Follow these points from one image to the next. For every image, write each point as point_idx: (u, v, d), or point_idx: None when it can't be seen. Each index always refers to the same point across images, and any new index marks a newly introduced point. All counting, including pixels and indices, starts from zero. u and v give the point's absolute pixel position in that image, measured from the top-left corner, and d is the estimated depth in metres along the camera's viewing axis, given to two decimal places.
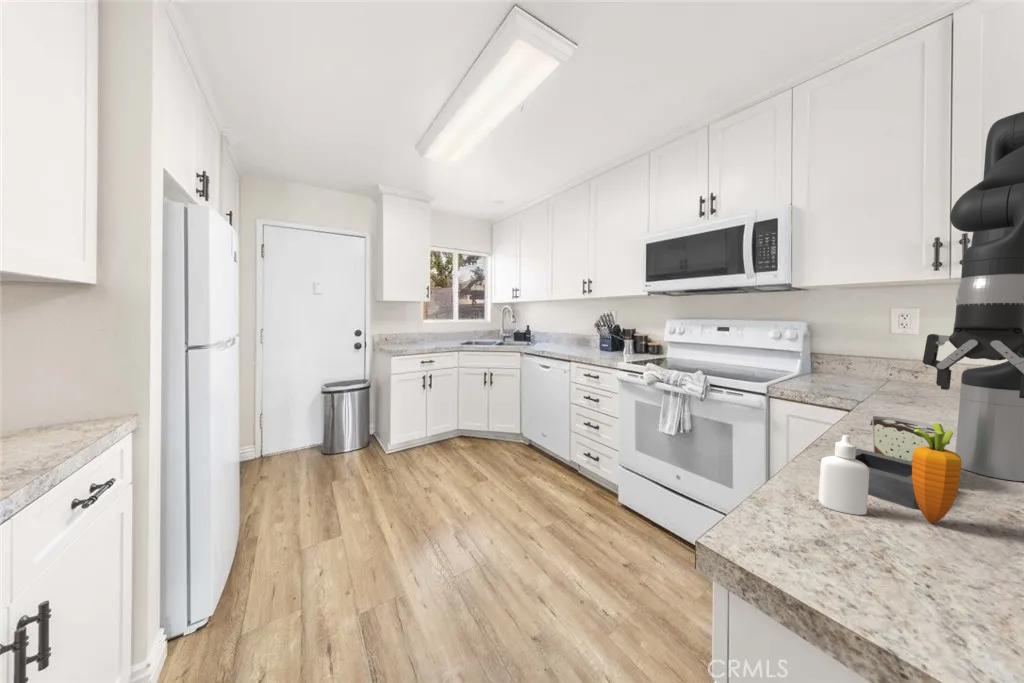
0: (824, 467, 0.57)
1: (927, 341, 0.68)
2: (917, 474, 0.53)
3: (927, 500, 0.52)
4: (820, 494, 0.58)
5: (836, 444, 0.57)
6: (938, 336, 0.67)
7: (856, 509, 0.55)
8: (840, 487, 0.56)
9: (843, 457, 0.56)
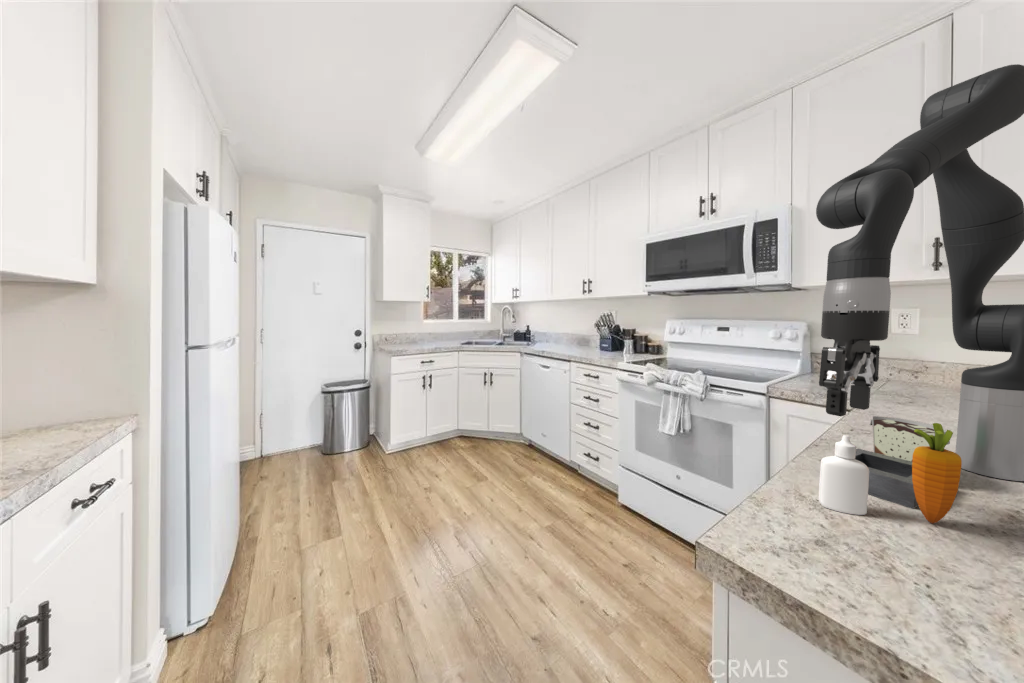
0: (824, 467, 0.57)
1: (842, 358, 0.51)
2: (917, 474, 0.53)
3: (927, 500, 0.52)
4: (820, 494, 0.58)
5: (836, 444, 0.57)
6: None
7: (856, 509, 0.55)
8: (840, 487, 0.56)
9: (843, 457, 0.56)
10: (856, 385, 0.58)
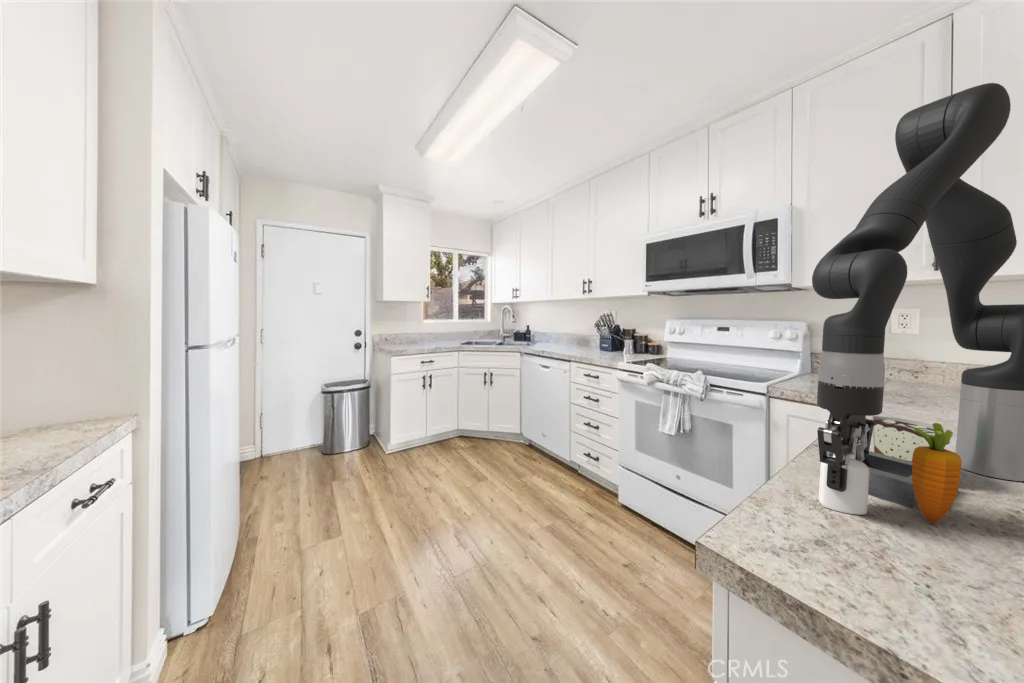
0: (824, 467, 0.57)
1: (838, 442, 0.52)
2: (917, 474, 0.53)
3: (927, 500, 0.52)
4: (820, 494, 0.58)
5: None
6: (835, 431, 0.53)
7: (856, 509, 0.55)
8: None
9: None
10: None
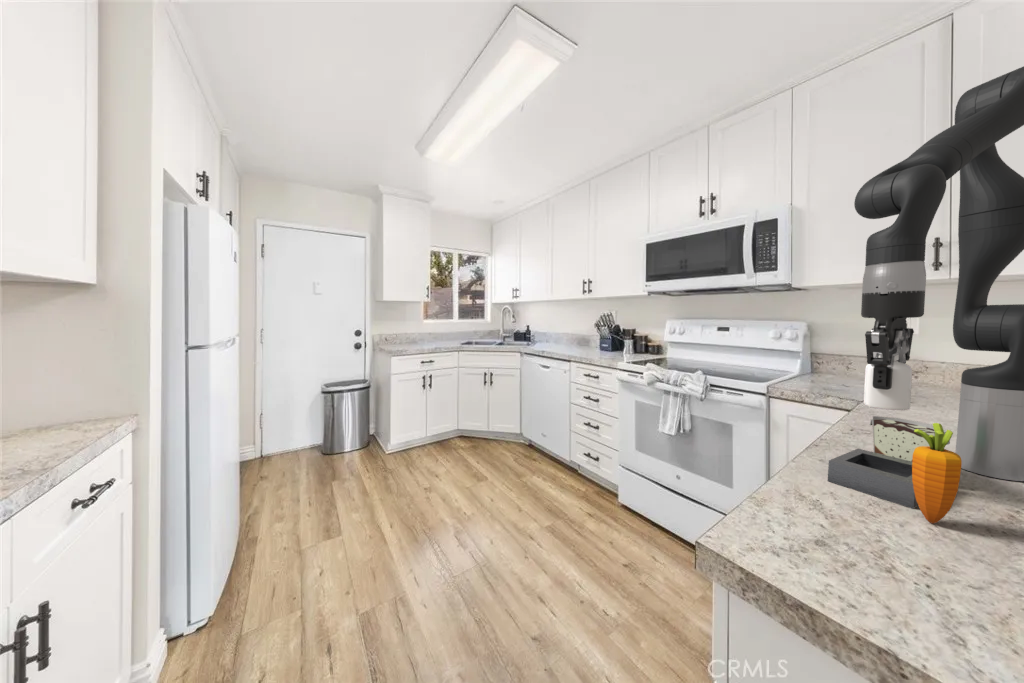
0: (869, 371, 0.63)
1: (885, 341, 0.58)
2: (917, 474, 0.53)
3: (927, 500, 0.52)
4: (866, 396, 0.64)
5: None
6: None
7: (900, 405, 0.61)
8: None
9: None
10: None
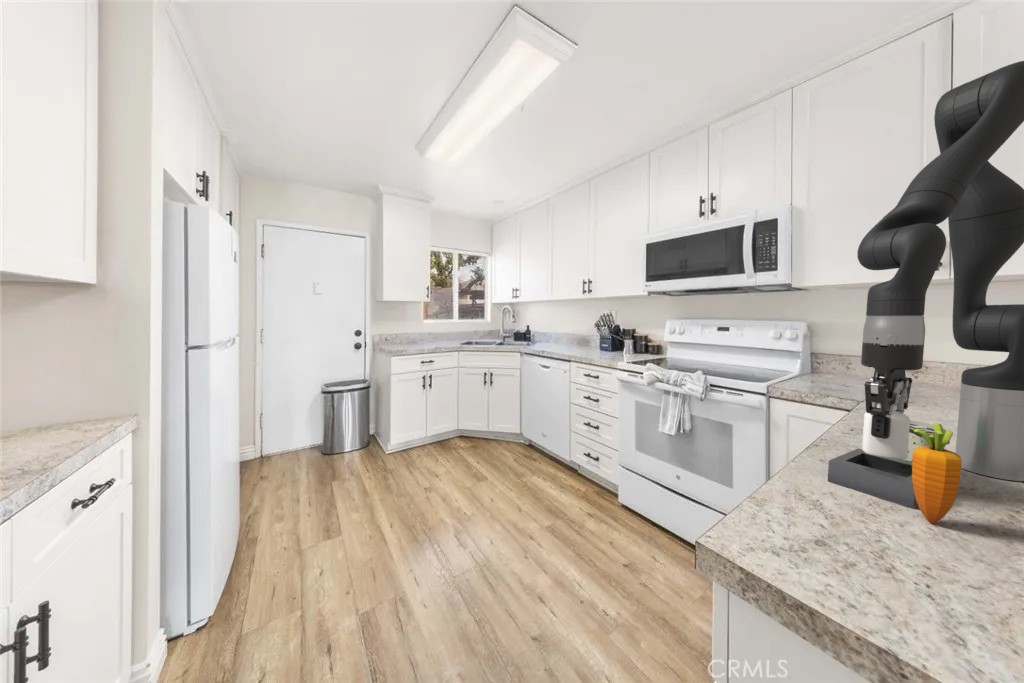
0: (868, 419, 0.64)
1: (884, 392, 0.60)
2: (917, 474, 0.53)
3: (927, 500, 0.52)
4: (864, 443, 0.65)
5: None
6: None
7: (898, 454, 0.62)
8: None
9: None
10: None
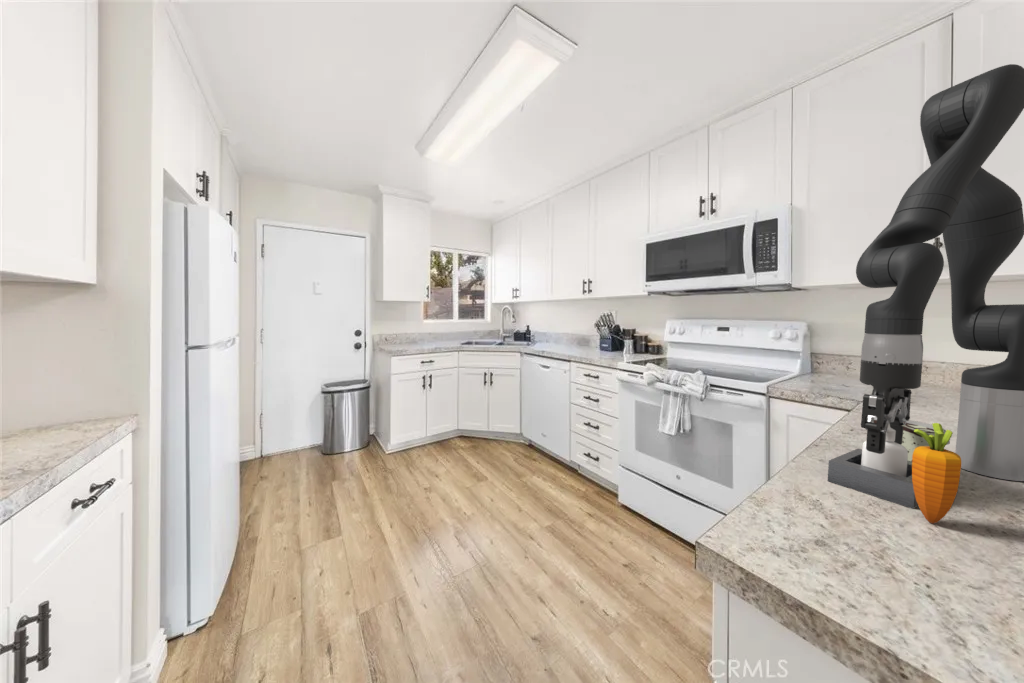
0: (866, 449, 0.65)
1: (882, 405, 0.60)
2: (917, 474, 0.53)
3: (927, 500, 0.52)
4: None
5: None
6: None
7: None
8: (881, 466, 0.64)
9: None
10: (890, 424, 0.66)
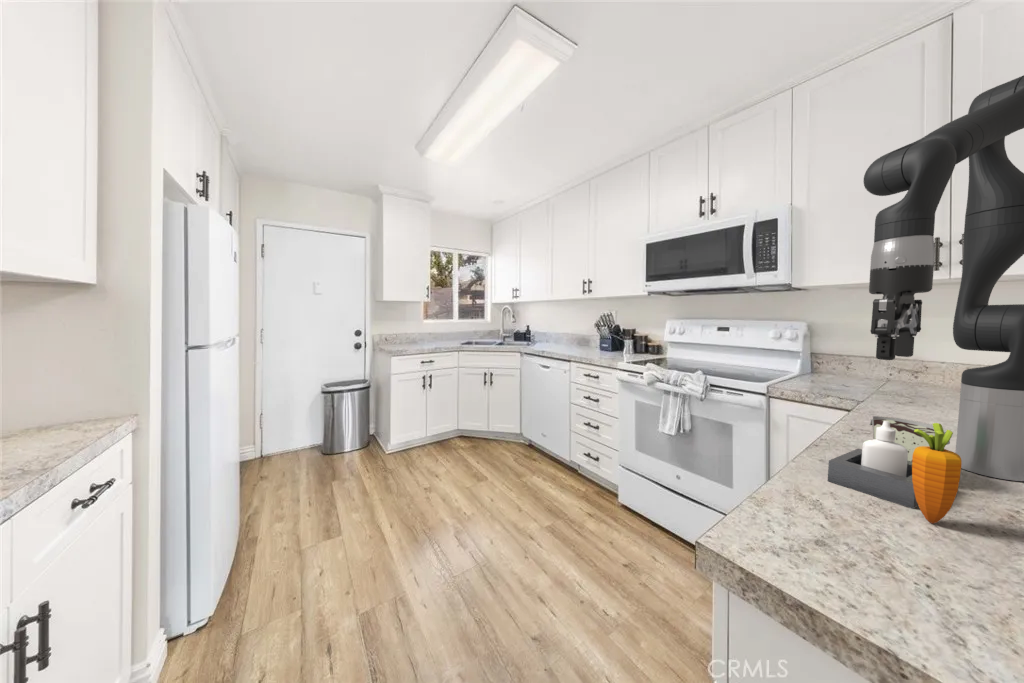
0: (866, 449, 0.65)
1: (893, 307, 0.58)
2: (917, 474, 0.53)
3: (927, 500, 0.52)
4: None
5: (877, 429, 0.65)
6: None
7: None
8: (881, 466, 0.64)
9: (883, 440, 0.64)
10: (901, 336, 0.65)
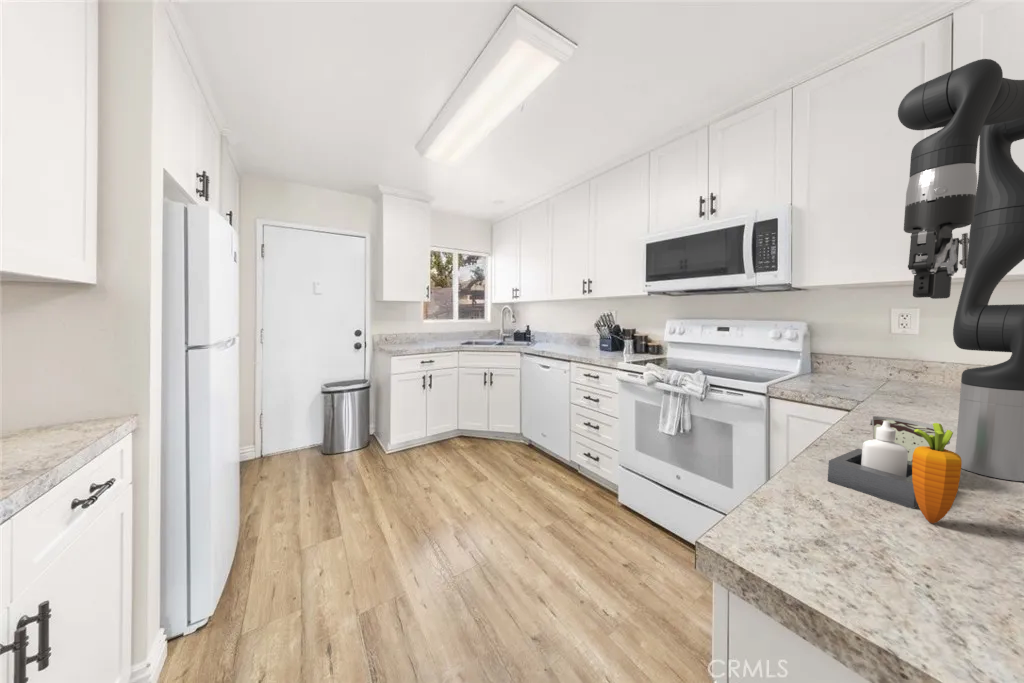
0: (866, 449, 0.65)
1: (933, 238, 0.55)
2: (917, 474, 0.53)
3: (927, 500, 0.52)
4: None
5: (877, 429, 0.65)
6: None
7: None
8: (881, 466, 0.64)
9: (883, 440, 0.64)
10: (936, 276, 0.62)
